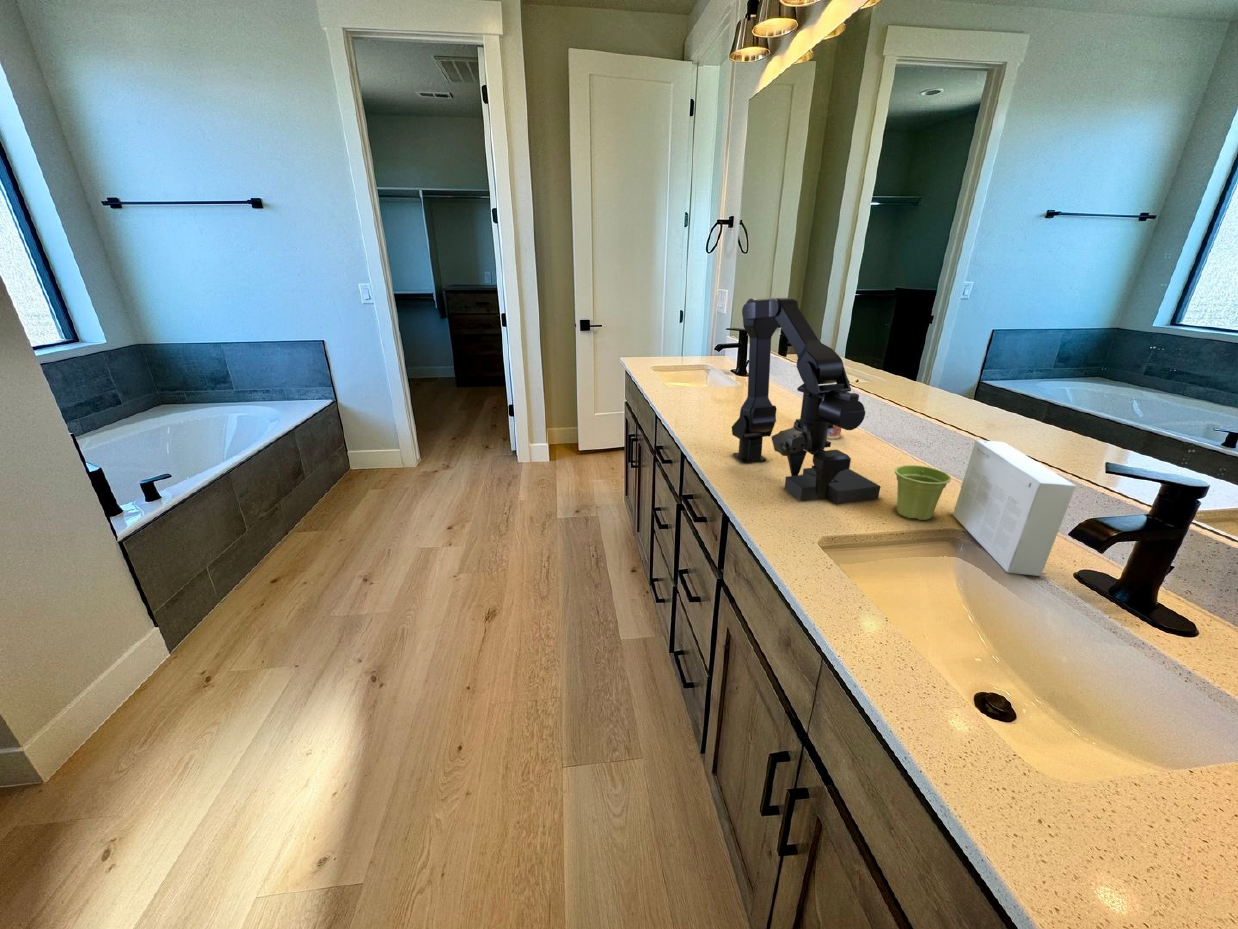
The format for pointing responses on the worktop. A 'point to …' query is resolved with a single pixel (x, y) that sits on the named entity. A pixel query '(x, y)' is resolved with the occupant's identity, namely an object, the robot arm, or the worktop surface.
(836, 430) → the pill bottle
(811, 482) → the black pad
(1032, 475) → the skincare box
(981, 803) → the worktop surface
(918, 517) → the plant pot
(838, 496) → the charcoal pad
